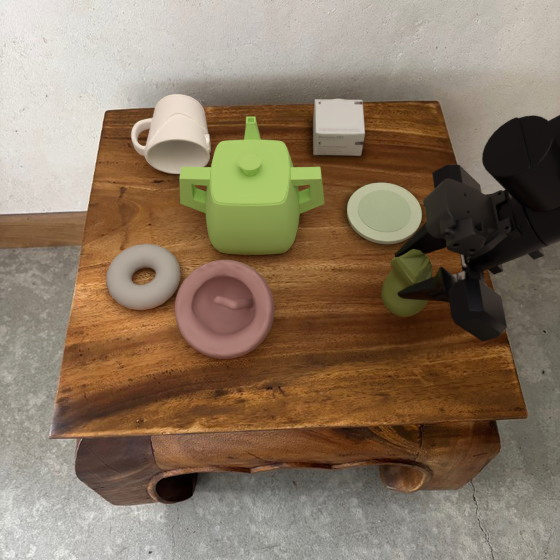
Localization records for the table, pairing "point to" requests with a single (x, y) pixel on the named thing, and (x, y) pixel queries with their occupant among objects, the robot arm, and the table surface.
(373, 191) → the plate
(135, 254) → the donut
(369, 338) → the table surface
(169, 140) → the mug
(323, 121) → the small box
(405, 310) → the olive green lumpy piece
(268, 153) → the teapot
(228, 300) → the mortar and pestle
